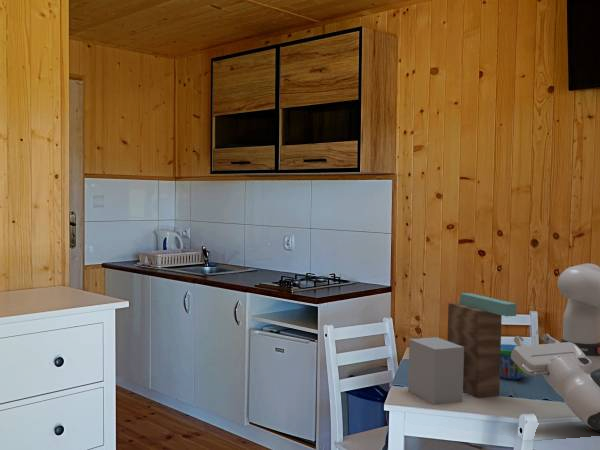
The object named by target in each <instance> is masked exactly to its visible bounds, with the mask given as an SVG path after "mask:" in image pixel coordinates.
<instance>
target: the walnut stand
mask: <svg viewBox="0 0 600 450" xmlns="http://www.w3.org/2000/svg"><path fill="white" fill-rule="evenodd" d="M447 314H448V315H447V340H446V341H449V342H452V343H454V344H457V345H460V346H463V347H464V369H463V393H466V394H468V395H469V396H472V397H474V398H477V399H479V398H481V399H482V398H489V397H498V396H500V387H501V386H500V384H501V383H500V381H501V377H500V354H501V342H502V319H503V317H502V315H498V314H495V313H491V312H487V311H483V310H479V309H475V308H472V307H468V306H464V305H460V302H449V303H448V310H447Z"/></svg>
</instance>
